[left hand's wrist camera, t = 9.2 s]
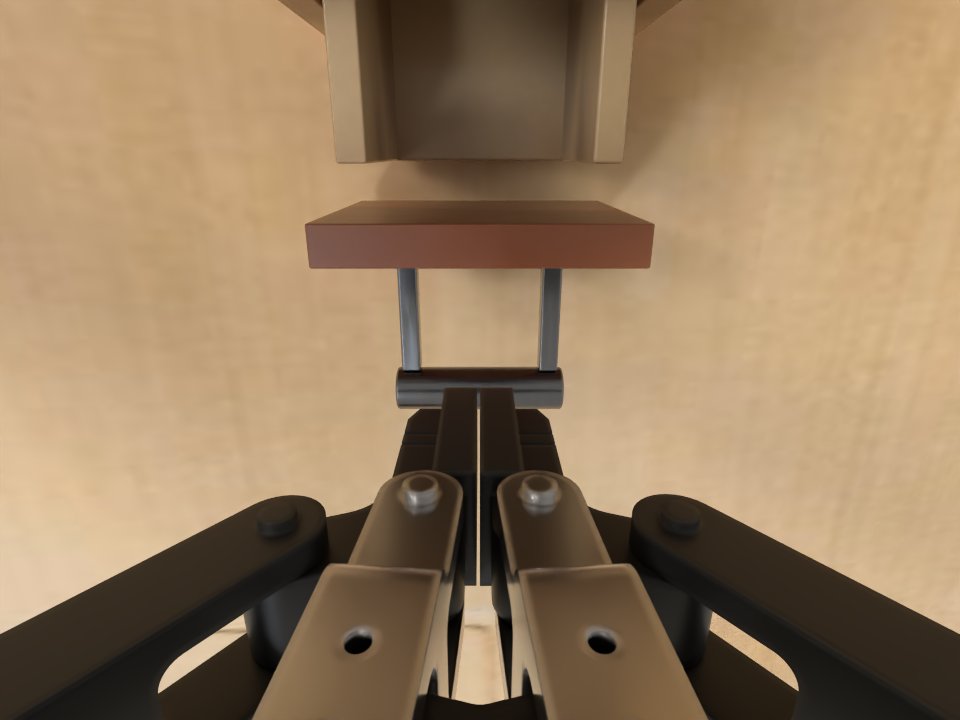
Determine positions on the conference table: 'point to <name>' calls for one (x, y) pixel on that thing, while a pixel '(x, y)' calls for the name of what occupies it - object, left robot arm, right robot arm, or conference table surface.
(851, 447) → the conference table surface
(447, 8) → the drawer
